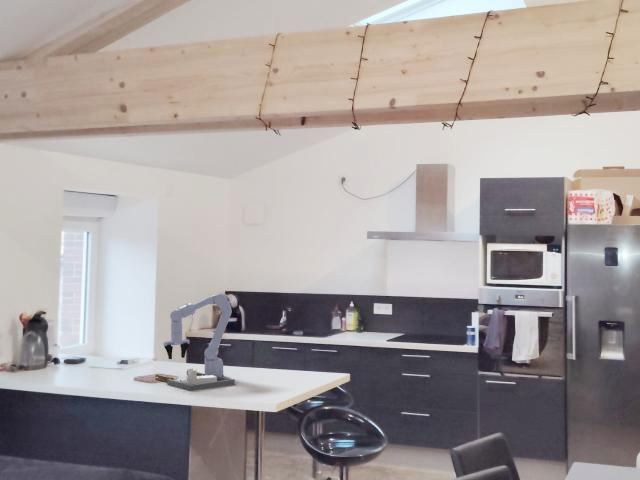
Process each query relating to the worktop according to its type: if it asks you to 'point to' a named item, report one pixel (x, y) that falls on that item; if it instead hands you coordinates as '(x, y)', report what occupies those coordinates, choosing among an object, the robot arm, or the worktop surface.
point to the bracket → (199, 378)
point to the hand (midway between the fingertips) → (176, 358)
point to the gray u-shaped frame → (220, 382)
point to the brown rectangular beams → (164, 378)
